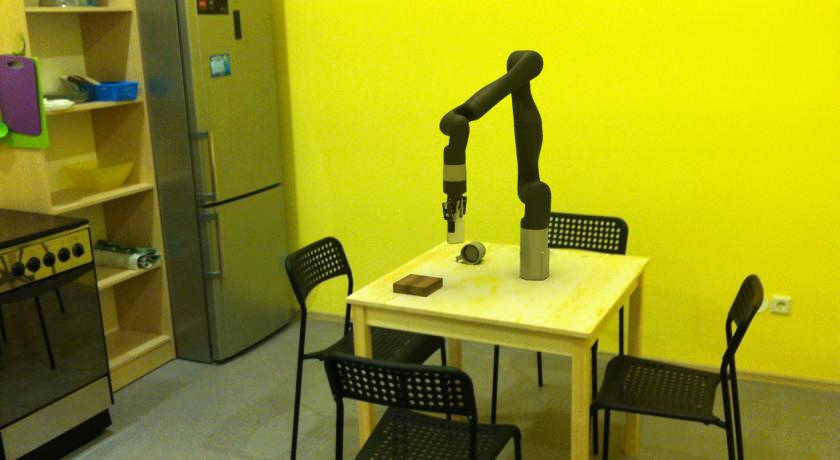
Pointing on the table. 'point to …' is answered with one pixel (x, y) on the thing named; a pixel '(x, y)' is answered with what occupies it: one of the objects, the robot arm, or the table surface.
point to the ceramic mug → (472, 252)
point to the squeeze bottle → (457, 231)
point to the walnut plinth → (418, 285)
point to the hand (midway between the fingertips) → (455, 230)
